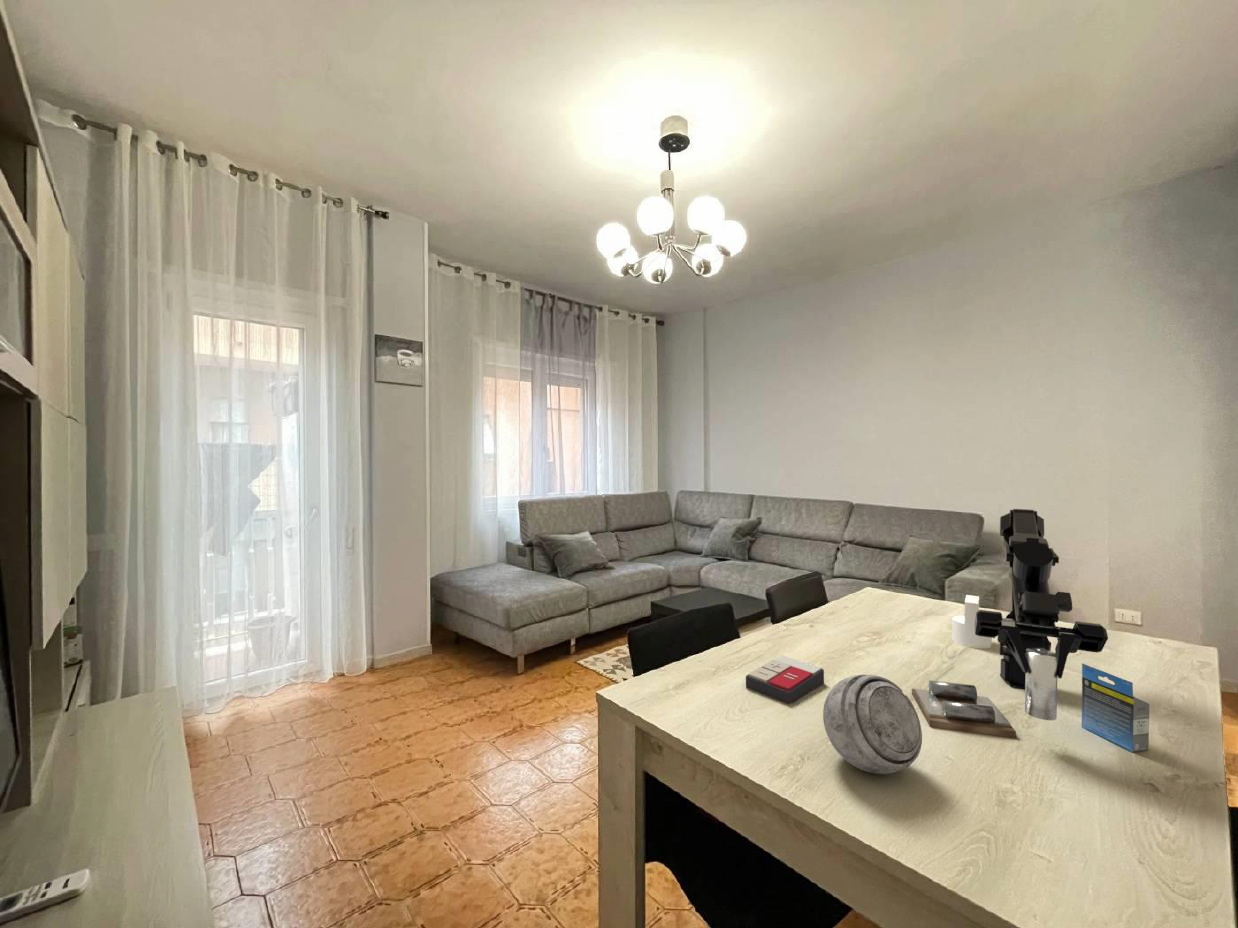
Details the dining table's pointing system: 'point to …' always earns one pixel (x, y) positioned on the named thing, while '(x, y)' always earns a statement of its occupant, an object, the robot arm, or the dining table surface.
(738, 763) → the dining table surface
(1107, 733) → the ink cartridge box
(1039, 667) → the hinge barrel
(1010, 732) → the board
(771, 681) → the calculator
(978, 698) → the hinge leaves
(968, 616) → the cylinder with rectangular tab
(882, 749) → the decorative orb
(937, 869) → the dining table surface
